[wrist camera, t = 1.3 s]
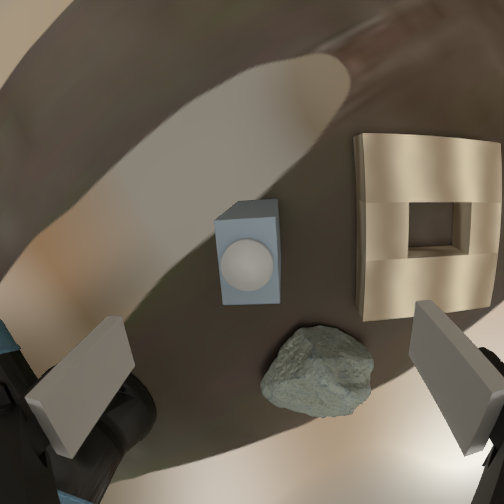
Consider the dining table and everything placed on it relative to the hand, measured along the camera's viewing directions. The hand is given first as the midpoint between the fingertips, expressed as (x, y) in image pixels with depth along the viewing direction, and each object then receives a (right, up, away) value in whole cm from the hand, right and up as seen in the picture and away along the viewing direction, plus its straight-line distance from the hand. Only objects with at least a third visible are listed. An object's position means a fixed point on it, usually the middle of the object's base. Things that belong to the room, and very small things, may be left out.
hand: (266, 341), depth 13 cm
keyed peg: (0, +6, +20) cm, 21 cm away
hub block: (+18, +7, +18) cm, 26 cm away
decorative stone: (+6, -9, +24) cm, 26 cm away
